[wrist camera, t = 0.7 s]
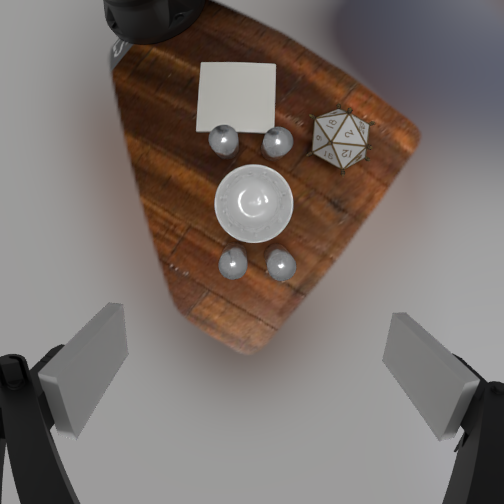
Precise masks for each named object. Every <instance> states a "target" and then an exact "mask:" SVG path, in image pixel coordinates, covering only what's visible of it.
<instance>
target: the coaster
mask: <svg viewBox="0 0 504 504" xmlns="http://www.w3.org/2000/svg"><path fill="white" fill-rule="evenodd" d="M275 82H276V64H266V63H243V62H201V69H200V81H199V95H198V109H197V125H196V132H211V131H212V130H213V129H214V128H215V127H216V126H219V125H229V126H231V127H233V128H234V129H235V130H236V132H237V133H256V134H266V132H267V131H268V130H269V129H271V128H273V127H274V119H275Z"/></svg>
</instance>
